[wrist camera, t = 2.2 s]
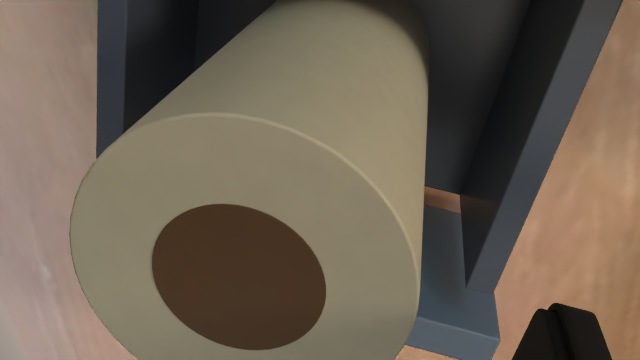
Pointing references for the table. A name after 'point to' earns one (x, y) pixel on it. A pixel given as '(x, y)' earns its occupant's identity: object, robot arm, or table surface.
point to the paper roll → (269, 195)
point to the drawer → (442, 123)
